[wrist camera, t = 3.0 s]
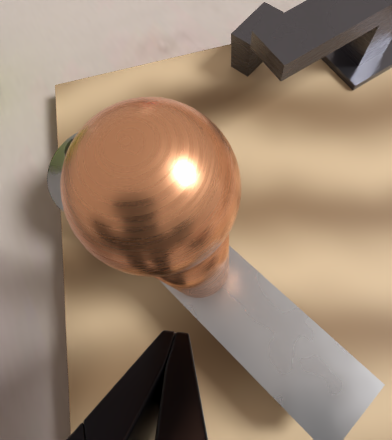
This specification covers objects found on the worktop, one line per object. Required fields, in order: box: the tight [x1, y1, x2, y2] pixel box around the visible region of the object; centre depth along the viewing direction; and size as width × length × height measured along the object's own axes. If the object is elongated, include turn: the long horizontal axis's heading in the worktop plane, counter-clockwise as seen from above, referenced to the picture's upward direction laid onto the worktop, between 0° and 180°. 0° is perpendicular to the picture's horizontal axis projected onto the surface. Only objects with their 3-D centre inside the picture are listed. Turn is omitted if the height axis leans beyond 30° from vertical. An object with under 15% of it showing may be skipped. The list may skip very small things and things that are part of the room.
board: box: [55, 44, 392, 440], centre depth 17 cm, size 25×22×1 cm
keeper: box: [231, 0, 392, 90], centre depth 17 cm, size 9×7×5 cm
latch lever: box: [47, 97, 385, 440], centre depth 10 cm, size 18×5×12 cm, turn 46°
